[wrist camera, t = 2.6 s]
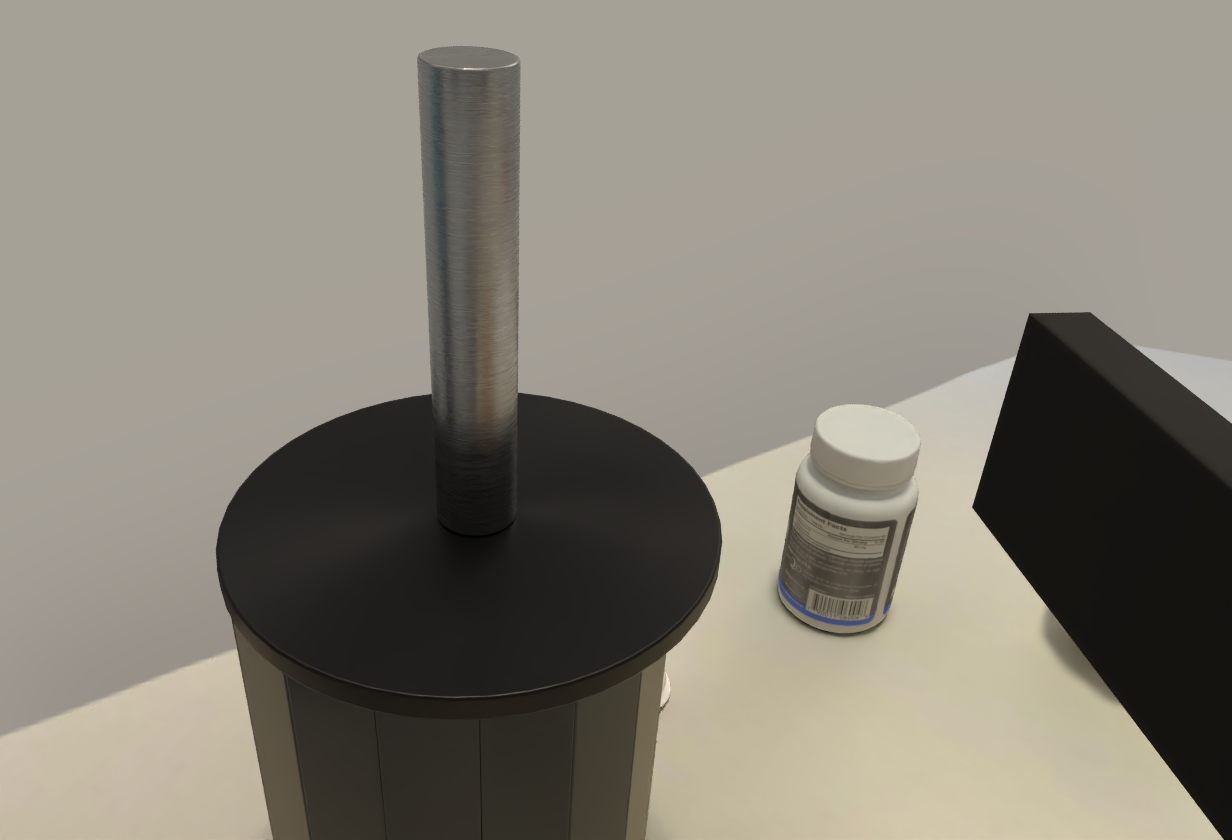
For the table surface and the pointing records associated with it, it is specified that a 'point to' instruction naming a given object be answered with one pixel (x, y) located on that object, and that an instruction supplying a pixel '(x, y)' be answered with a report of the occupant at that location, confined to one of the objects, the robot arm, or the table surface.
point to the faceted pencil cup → (452, 765)
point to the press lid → (469, 487)
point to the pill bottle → (850, 518)
